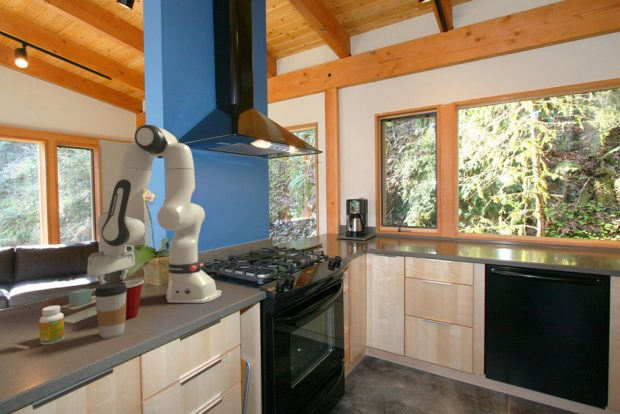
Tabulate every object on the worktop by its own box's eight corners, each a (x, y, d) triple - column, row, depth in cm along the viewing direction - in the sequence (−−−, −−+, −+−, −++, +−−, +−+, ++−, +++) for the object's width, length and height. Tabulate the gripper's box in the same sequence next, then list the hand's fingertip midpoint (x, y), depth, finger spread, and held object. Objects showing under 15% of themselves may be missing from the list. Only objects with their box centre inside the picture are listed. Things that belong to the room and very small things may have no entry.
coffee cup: (123, 338, 90) (122, 287, 90) (90, 342, 88) (89, 290, 88) (131, 326, 98) (130, 280, 98) (101, 330, 96) (100, 282, 96)
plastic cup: (122, 310, 112) (121, 278, 112) (150, 311, 112) (150, 278, 112) (100, 323, 101) (99, 287, 101) (132, 323, 101) (131, 287, 101)
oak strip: (122, 294, 132) (122, 283, 131) (75, 310, 112) (75, 298, 112) (107, 292, 134) (107, 282, 134) (59, 308, 114) (58, 296, 114)
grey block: (126, 304, 119) (125, 292, 119) (74, 324, 100) (73, 310, 100) (109, 302, 121) (109, 290, 121) (56, 322, 102) (55, 308, 102)
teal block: (91, 302, 120) (91, 289, 120) (79, 306, 115) (78, 293, 115) (82, 301, 121) (81, 288, 121) (69, 305, 116) (68, 292, 116)
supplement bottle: (50, 346, 86) (49, 311, 86) (35, 344, 87) (33, 310, 87) (69, 337, 91) (68, 305, 91) (54, 335, 92) (53, 303, 92)
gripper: (94, 254, 120) (96, 289, 120) (136, 246, 139) (138, 276, 140) (81, 254, 121) (84, 289, 122) (125, 246, 141) (127, 275, 141)
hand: (113, 282), depth 131 cm, fingers open, 8 cm apart
